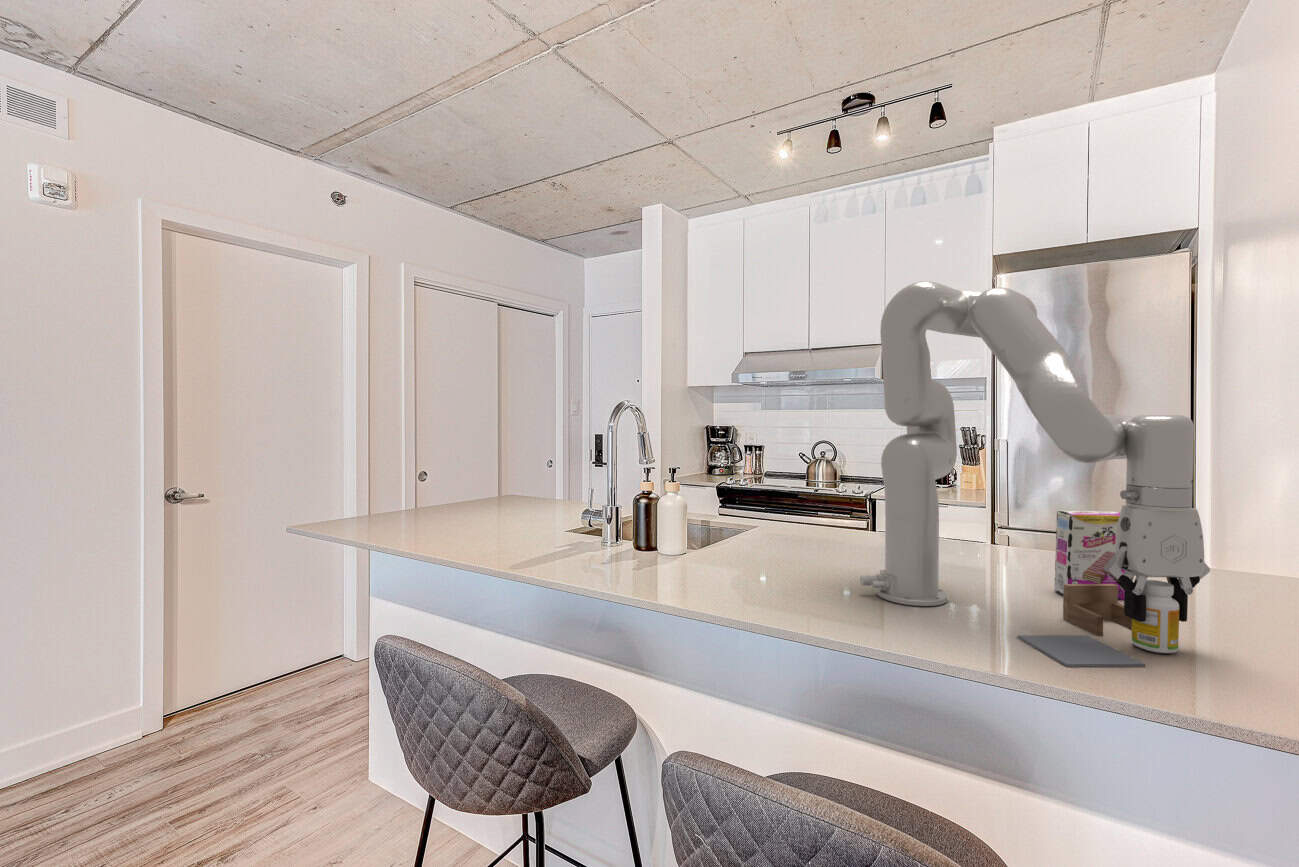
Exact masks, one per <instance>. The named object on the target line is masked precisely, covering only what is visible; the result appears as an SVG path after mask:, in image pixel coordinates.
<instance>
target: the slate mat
mask: <svg viewBox="0 0 1299 867" xmlns="http://www.w3.org/2000/svg"><path fill="white" fill-rule="evenodd" d="M1017 638H1018V639H1019V640H1021V641H1023V642H1024V643H1025V644H1027V645H1029V646H1031V647H1032V648H1034V649H1035V650H1037V651H1039V652H1040V653H1042V654H1044V655H1046V656H1047V657H1049V658H1051V659H1053V660H1054V661H1055V662H1057V663H1059V664H1061V665H1062V666H1064V667H1065V668H1108V667H1109V668H1116V667H1117V668H1121V667H1122V668H1123V667H1124V668H1125V667H1126V668H1127V667H1128V668H1130V667H1132V668H1134V667H1137V668H1139V667H1140V668H1142V667H1143V668H1144V667H1146V663H1145V662H1143V661H1140V660H1139V659H1136V658H1134V657H1133V656H1130V655H1129V654H1126V653H1125V652H1122V651H1121V650H1119V649H1116V648H1115V647H1112V646H1111V645H1109V644H1106V643H1104V642H1102V641H1100V640H1099V639H1097V638H1094V637H1093V636H1090V635H1089V634H1060V635H1059V634H1056V635H1055V634H1052V635H1050V634H1039V635H1037V634H1033V635H1029V634H1027V635H1024V634H1022V635H1021V634H1020V635H1019V634H1018V636H1017Z"/></svg>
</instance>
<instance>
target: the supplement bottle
mask: <svg viewBox="0 0 1299 867" xmlns="http://www.w3.org/2000/svg"><path fill="white" fill-rule="evenodd" d="M1173 593H1174V586H1173V585H1172V584H1170V583H1168V581H1162V580H1155V579H1147V580H1146V583H1145V586H1144V588H1143V591H1142V593H1141V594H1143V595H1146V620H1145V621H1144V622H1139V621H1137V620H1134V619H1132V629H1131V643H1132V645H1134V646H1135V647H1137V648H1140V649H1143V650H1146V651H1149V652H1153V653H1159V654H1174V653H1177V652H1178V651H1179V635H1180V634H1179V632H1180V630H1179V629H1180V621H1179V603H1178V602H1177V601H1176V600H1175V599H1173V598H1171V596H1172V595H1173Z"/></svg>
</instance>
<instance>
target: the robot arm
mask: <svg viewBox="0 0 1299 867" xmlns="http://www.w3.org/2000/svg"><path fill="white" fill-rule="evenodd" d="M879 329H880V331H879V332H880V346H881V354H882V376H883V377H882V378H883V398H884V400H883V401H884V409H885V414H886V416H887V417H888V419H889V420H890V421H891V422H892V423H894V424H896V425H897V426H899V427H906V434H901V435H899V436H895V437H894V438H892V439H891V440H890V441H889V442H888V443H887V444H886V445H885V448H884V449H883V450H882V451H883V452H882V455H881V458H880V459H881V460H880V463H881V464H880V467H881V473H882V474H881V475H882V479H883V487H884V500H885V502H884V516H885V520H884V522H885V525H884V529H885V535H884V536H885V538H884V540H885V541H884V544H885V545H884V569H880V570H879V573H876V574H875V575H860V577H859V584H860V586H865V587H866V586H868V587H869V586H870V587H871V588H872V589H876V594H877V596H879V597H880V598H881V599H883V600H886V601H888V602H891V603H896V604H900V605H906V606H913V607H914V606H915V607H935V606H940V605H944V604H945V603H947V601H948V594H947V593H946V592H945V591H944V590H942V589H940V588H939V583H940V582H939V580H940V579H939V574H940V573H939V570H940V568H939V566H940V565H939V563H940V562H939V561H940V560H939V559H940V554H939V553H940V550H939V549H940V505H939V496H938V489H937V484H936V480H940V479H941V478H942V479H943V478H945V477H946V476H947V475H948V474H950V472H951V471H952V470H953V469H954V468H955V466H956V462H957V461H956V460H957V453H958V452H957V451H958V450H957V448H958V447H957V432H956V431H957V430H956V417H955V406H954V405H955V404H954V400H953V397H952V395H951V393H950V391H949V390H948V388H947V387H946V386H945V385H944V384H942V383H940V382H939V381H936V380H934V379H933V378H932V377H933V376H932V370H931V353H930V349H929V344H928V341H927V337H926V336H927V334H926V332H927V331H928V330H929V331H933V332H937V333H942V334H949V335H958V336H964V337H972V338H979V339H982V341H983V342H984V343H985V345H986V346H987V347H988V349H989V350H990V351H991V352H992V354H993V355H994V356H995V357H996V359H997V361H999V363H1000V364H1001V365H1002V367H1003V368H1004V369H1005V371H1006V372H1007V373H1008V375H1009V376H1010V377H1011V379H1013V382H1014V383H1015V386H1016V388H1017V390H1018V392H1019V394H1020V395H1021V396H1022V398H1023V400H1024V401H1025V404H1026V405H1027V407H1028V409H1029V410H1030V412H1031V414H1032V415H1033V417H1034V418H1035V419H1036V421H1037V422H1038V423H1039V425H1040V426H1041V428H1042V429H1043V430H1044V431H1045V433H1046V434H1047V435H1048V436H1049V438H1050V439H1051V440H1052V442H1053V443H1054V444H1055V445H1056V446H1057V448H1058V449H1059V450H1060V452H1062V453H1063V454H1064V455H1065V456H1066V457H1068V458H1070V459H1072V460H1074V461H1076V462H1077V463H1078V462H1079V463H1084V464H1094V463H1095V464H1096V463H1100V462H1105V461H1111V460H1126V472H1125V473H1126V476H1125V477H1126V479H1125V480H1126V482H1125V483H1126V484H1125V490H1124V489H1122V490H1121V491H1120V492H1119V496H1120V498H1121V499H1122V500H1125V505H1122V507H1121V509H1120V512H1119V513H1120V516H1119V520H1118V525H1117V532H1116V540H1115V555H1114V556H1113V557H1112V558H1111V559H1110V560H1109V561H1108V562H1107V564H1106V565H1105V566H1104V568H1103V569H1104V571H1105V572H1106V573H1108V574H1109V575H1110V576H1111V577H1113V579H1114V580H1115V581H1116V582H1117V583H1118V584H1119V585H1120V588H1121V589H1122V590H1124V600H1123V601H1124V602H1123V603H1124V604H1123V605H1124V614H1125V615H1126V616H1127V617H1130V618H1132V619H1134V620H1137V621H1139V622H1144V621H1145V620H1146V595H1143V594H1141V593H1142V591H1143V588H1144V586H1145V583H1146V580H1148V578H1166V582H1167V583H1170V584H1172V585H1173V586H1174V593H1173V595H1172V596H1171V598H1173V599H1175V600H1176V601H1177V602H1178V603H1179V622H1182V623H1183V622H1187V621H1188V605H1189V604H1188V602H1189V600H1188V598H1189V596H1190V595H1192V594H1193V593H1194V588H1195V587H1197V585H1198V584H1199V583H1200V581H1201V580H1202V579H1203V578H1204V577H1205V576H1206V575H1208V574H1209V573H1210V572H1211V568H1210V567H1209V565H1208V564H1207V563H1205V546H1204V534H1203V527H1202V522H1201V517H1200V515H1199V512H1198V509H1197V508H1193V483H1194V482H1193V477H1194V476H1193V475H1194V442H1195V441H1194V440H1195V437H1194V436H1195V428H1194V427H1195V425H1194V422H1193V420H1192V419H1191V418H1190V417H1188V416H1184V415H1179V414H1178V415H1176V414H1145V415H1144V414H1142V415H1136V416H1126V415H1115V414H1107V413H1103V412H1102V411H1101V410H1100V409H1099V408H1098V406H1097V405H1096V404H1095V403H1094V401H1093V400H1092V399H1091V398H1090V397H1089V395H1088V394H1087V393H1086V392H1085V390H1084V389H1083V387H1082V386H1081V385H1080V383H1079V382H1078V381H1077V379H1076V377H1075V375H1074V374H1073V372H1072V369H1071V365H1070V359H1069V356H1068V353H1067V351H1066V349H1065V348H1064V347H1063V346H1062V344H1061V343H1060V342H1059V341H1058V340H1057V339H1056V337H1055V336H1054V335H1053V334H1052V332H1050V330H1049V329H1048V328H1047V327H1046V326H1045V324H1044V323H1043V322H1042V320H1040V318H1039V317H1038V311H1037V308H1036V305H1035V304H1034V302H1033V301H1032V300H1031V299H1030V298H1029V297H1027V295H1024V294H1022V293H1020V292H1018V291H1016V290H1014V289H1011V288H1008V287H1000V286H999V287H992V288H990V289H987V290H984V291H983V292H979V291H969V290H968V291H967V290H959V289H955V288H952V287H950V286H947V285H946V284H942V283H940V282H935V281H931V280H922V281H916V282H914V283H911V284H909V285H907V286H905V287H903V288H901V289H900V290H899V291H898V292H897V293H895V295H893V297H892V298H891V299H890V300H889V302H888V303H887V305H886V307H885V309H884V311H883V314H882V318H881V321H880V328H879ZM1121 569H1122V570H1125V572H1124V574H1123V573H1122V571H1121Z"/></svg>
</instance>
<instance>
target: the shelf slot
mask: <svg viewBox="0 0 1299 867" xmlns="http://www.w3.org/2000/svg"><path fill="white" fill-rule="evenodd" d="M1062 597H1063V598H1062V599H1063V603H1062V609H1063V610H1062V619H1063V620H1065V621H1067V622H1069V623H1071V624H1073V625H1075V626H1077V627H1079V628H1082V629H1083V630H1084V631H1085V630H1086V631H1088V632H1089V633H1091V634H1093V635H1096V636H1104V621H1111V622H1114V623H1116V624H1118V625H1121V626H1123V627H1125V628H1127V629H1130V630H1132V618H1130V617H1127V616H1126V615H1125V614H1124V604H1121V603H1119V602H1118V601H1119V600H1118V585H1115V584H1064V589H1063V595H1062Z"/></svg>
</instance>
